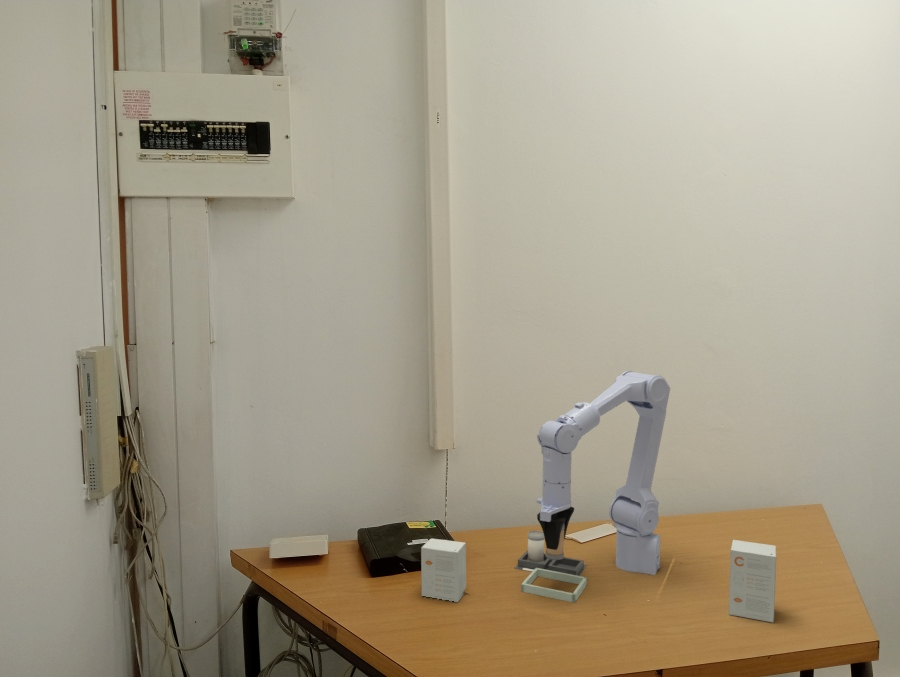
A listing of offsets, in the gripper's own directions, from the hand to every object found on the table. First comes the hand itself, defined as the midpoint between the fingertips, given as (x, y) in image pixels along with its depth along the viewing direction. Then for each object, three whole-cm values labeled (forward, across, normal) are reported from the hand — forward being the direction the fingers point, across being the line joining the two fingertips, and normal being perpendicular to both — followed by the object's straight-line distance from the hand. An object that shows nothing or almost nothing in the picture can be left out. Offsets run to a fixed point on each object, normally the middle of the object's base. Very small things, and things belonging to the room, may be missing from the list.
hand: (555, 545), depth 145 cm
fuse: (+9, -10, -8) cm, 15 cm away
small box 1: (+10, +11, -20) cm, 25 cm away
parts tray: (+10, 0, 0) cm, 10 cm away
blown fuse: (+2, 0, 0) cm, 2 cm away
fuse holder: (+10, -10, -4) cm, 14 cm away
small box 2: (+10, -9, +37) cm, 39 cm away
